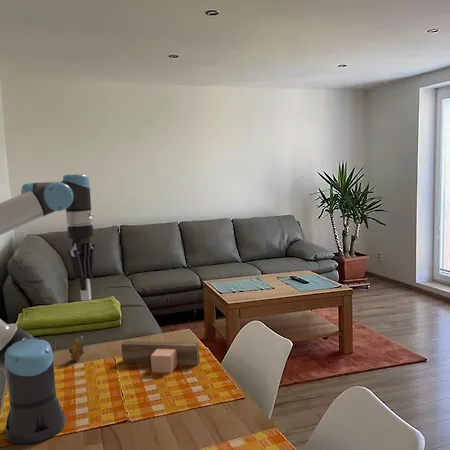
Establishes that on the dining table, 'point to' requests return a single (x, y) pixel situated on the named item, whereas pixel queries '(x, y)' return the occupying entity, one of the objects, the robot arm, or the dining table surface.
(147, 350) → the walnut rail
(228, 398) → the dining table surface
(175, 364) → the block
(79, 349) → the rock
